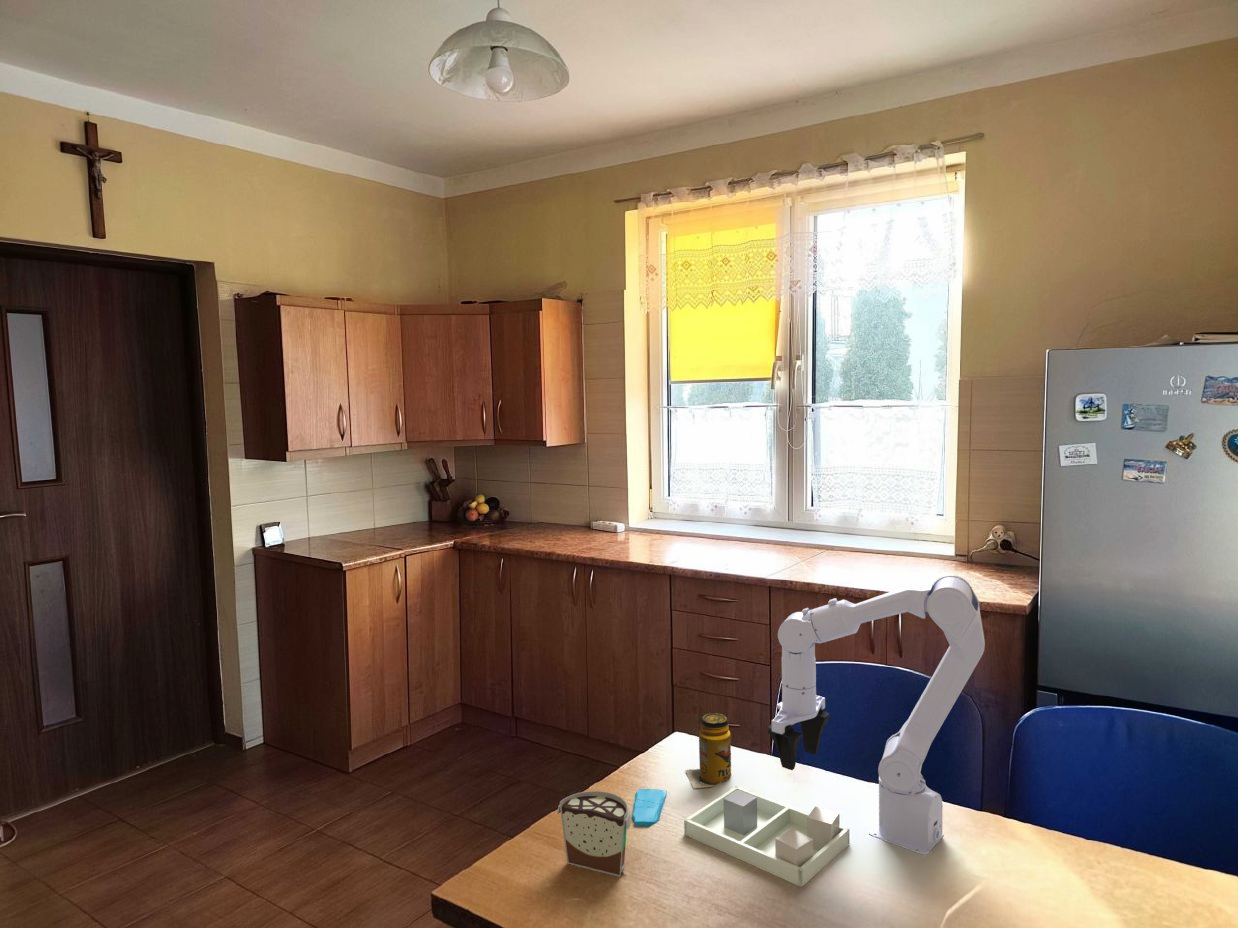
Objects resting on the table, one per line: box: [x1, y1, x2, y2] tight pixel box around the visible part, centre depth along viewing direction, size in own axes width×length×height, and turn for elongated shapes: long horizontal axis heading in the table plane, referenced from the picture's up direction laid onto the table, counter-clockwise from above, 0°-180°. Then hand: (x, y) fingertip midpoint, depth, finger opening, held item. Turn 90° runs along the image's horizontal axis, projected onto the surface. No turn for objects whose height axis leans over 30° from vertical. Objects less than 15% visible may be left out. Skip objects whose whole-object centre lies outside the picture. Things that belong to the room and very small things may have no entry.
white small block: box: [807, 806, 840, 851], centre depth 128 cm, size 4×4×5 cm
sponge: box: [631, 788, 668, 827], centre depth 142 cm, size 2×12×6 cm
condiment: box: [684, 712, 733, 790], centre depth 152 cm, size 7×8×12 cm
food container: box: [557, 790, 633, 878], centre depth 126 cm, size 12×6×10 cm, turn 65°
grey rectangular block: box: [724, 790, 757, 835], centre depth 134 cm, size 4×4×5 cm
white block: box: [775, 829, 813, 867], centre depth 121 cm, size 4×4×5 cm
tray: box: [683, 786, 850, 888], centre depth 130 cm, size 22×15×3 cm
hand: (799, 759), depth 137 cm, fingers open, 7 cm apart
